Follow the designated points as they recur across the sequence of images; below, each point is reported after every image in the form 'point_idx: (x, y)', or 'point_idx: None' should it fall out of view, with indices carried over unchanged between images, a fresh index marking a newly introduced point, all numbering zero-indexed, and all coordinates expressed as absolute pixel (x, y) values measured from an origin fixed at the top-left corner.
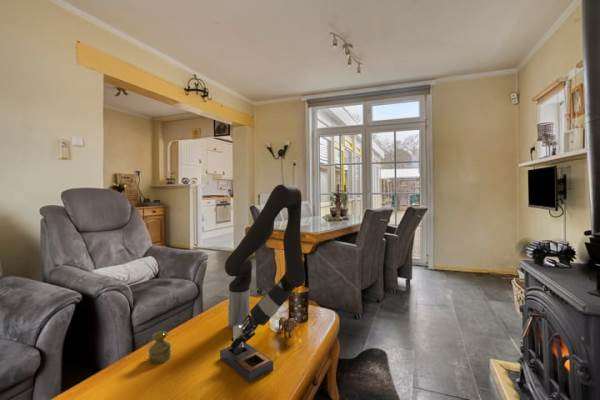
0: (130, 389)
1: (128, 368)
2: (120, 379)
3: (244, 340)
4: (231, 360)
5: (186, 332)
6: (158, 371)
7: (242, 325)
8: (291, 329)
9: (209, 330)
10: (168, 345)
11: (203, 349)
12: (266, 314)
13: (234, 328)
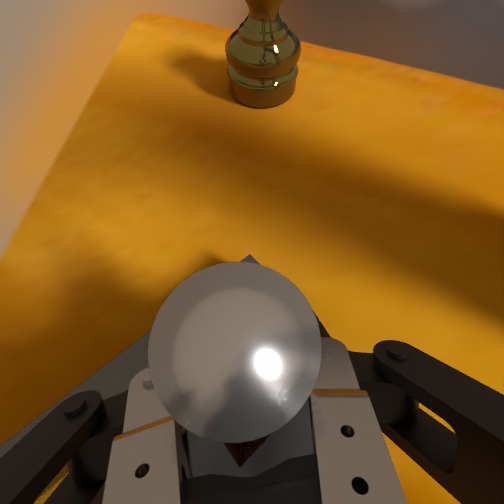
0: (119, 78)
1: (217, 49)
2: (170, 51)
3: (71, 474)
4: (137, 343)
5: (448, 106)
6: (189, 104)
7: (259, 424)
8: None
9: (500, 175)
10: (264, 55)
11: (326, 189)
12: None
13: (175, 289)
